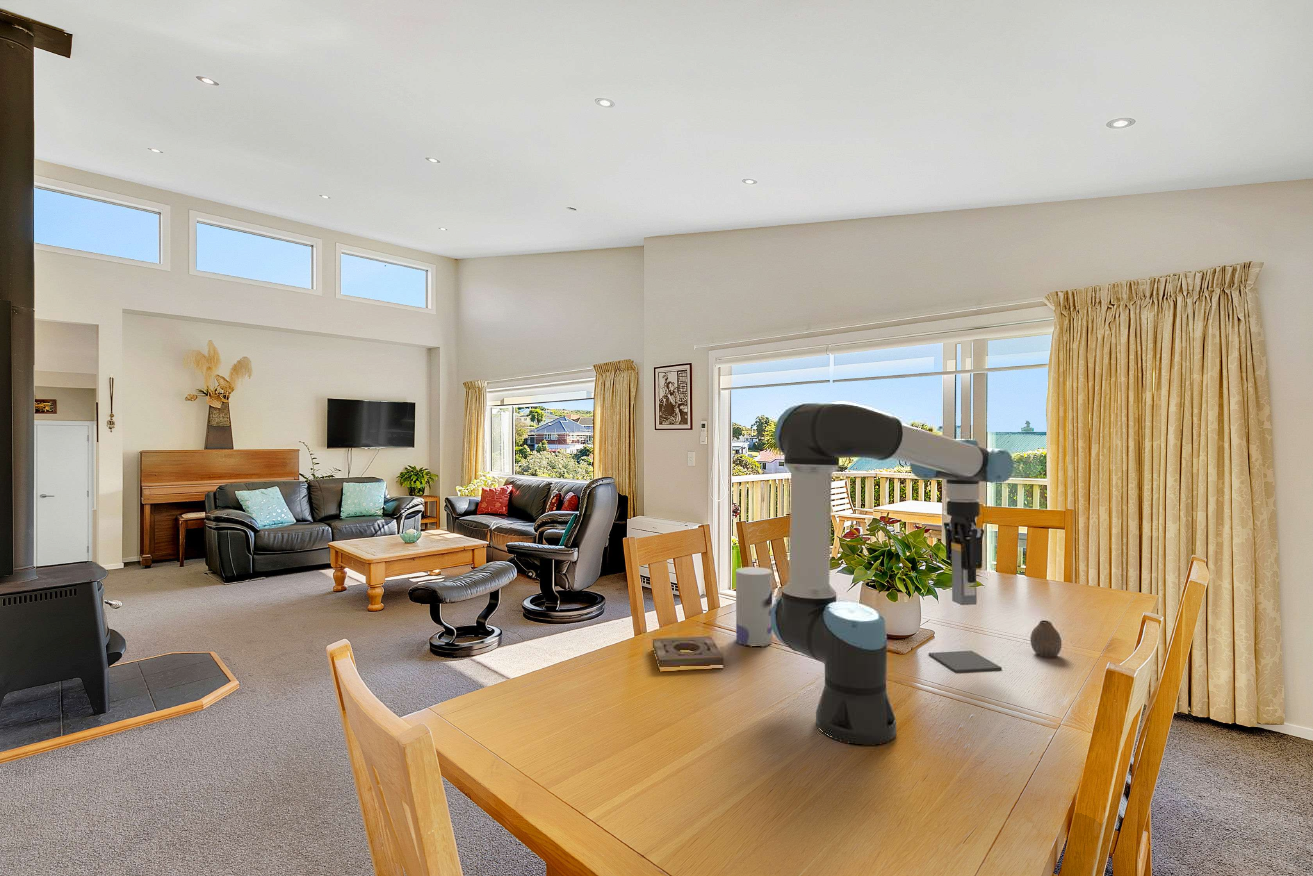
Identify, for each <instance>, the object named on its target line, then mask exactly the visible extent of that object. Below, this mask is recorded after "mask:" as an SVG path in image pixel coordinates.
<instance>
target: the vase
mask: <svg viewBox="0 0 1313 876" xmlns="http://www.w3.org/2000/svg"><path fill="white" fill-rule="evenodd" d="M1030 645H1031V648H1032V650H1033V651H1034V653H1035V654H1036V655H1038V656H1040V657H1042V658H1050V659H1052V658H1055V657H1057V656H1058V655H1059V654H1060V653H1061V650H1062V647H1063V646H1062V645H1063V644H1062V637H1061V635H1060V633H1059V632H1058V631H1057V629H1056V628H1055V627H1054V625H1053V623H1052V622H1051V621H1049V620H1046V619H1045V620H1043V619H1042V620H1040V621H1039V622H1038V624H1037V625H1036V626H1035V627H1034V628H1033V629H1032V631H1031V634H1030Z"/></svg>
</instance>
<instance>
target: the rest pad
mask: <svg viewBox="0 0 1313 876" xmlns="http://www.w3.org/2000/svg"><path fill="white" fill-rule="evenodd" d="M928 656H929V657H931V658H933V659H934V660H935V661H937V662H938V663H940V664H942V665H943V666H945V667H946V668H948V669H949V670H951V671H953V672H954V673H968V672H969V673H970V672H971V673H973V672H986V671H987V672H989V671H1003V667H1002V666H1000V665H998V664H996V663H994V662H993V661H991V660H990V659H987V658H986V657H984V656H982V655H980V654H978V653H977V652H974V651H973V650H961V651H957V650H956V651H941V652H928Z"/></svg>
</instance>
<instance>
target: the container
mask: <svg viewBox="0 0 1313 876" xmlns="http://www.w3.org/2000/svg"><path fill="white" fill-rule="evenodd" d="M772 607H773V572H772V569H769V568H767V567H766V568H765V567H756V566H747V567H746V566H745V567H739V568H737V569H736V570H735V610H736V611H735V618H736V619H735V621H736V622H735V624H736V625H735V627H736V629H735V631H736V632H735V633H736V637H735V638H736V639H735V641H736V642H737V641H738V642H740V643H742V644H745V645H756V646H761V647H764V646H763V645H767V646H769V645H768V644H770V645H772V644H773V629H772V626H771V610H772ZM738 642H737V643H738ZM740 643H739V644H740ZM742 644H741V645H742ZM745 645H744V646H745Z"/></svg>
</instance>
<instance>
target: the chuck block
mask: <svg viewBox="0 0 1313 876" xmlns="http://www.w3.org/2000/svg"><path fill="white" fill-rule="evenodd" d="M653 648H654V651H655V654H656V657H657V661H658V664H659V667H680V666H710V665H724V664H725V663H724V660H725V659H724V655H723V654H722V651H721V650H720V649H719V647H718V646H717V644H716V643H715V640H714V638H713V637H712V636H711V635H708V636H706V635H705V636H687V637H686V636H684V637H681V636H680V637H666V638H665V637H663V638H660V637H659V638H652V649H653ZM680 650H690V651H693V652H681V651H680Z"/></svg>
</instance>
